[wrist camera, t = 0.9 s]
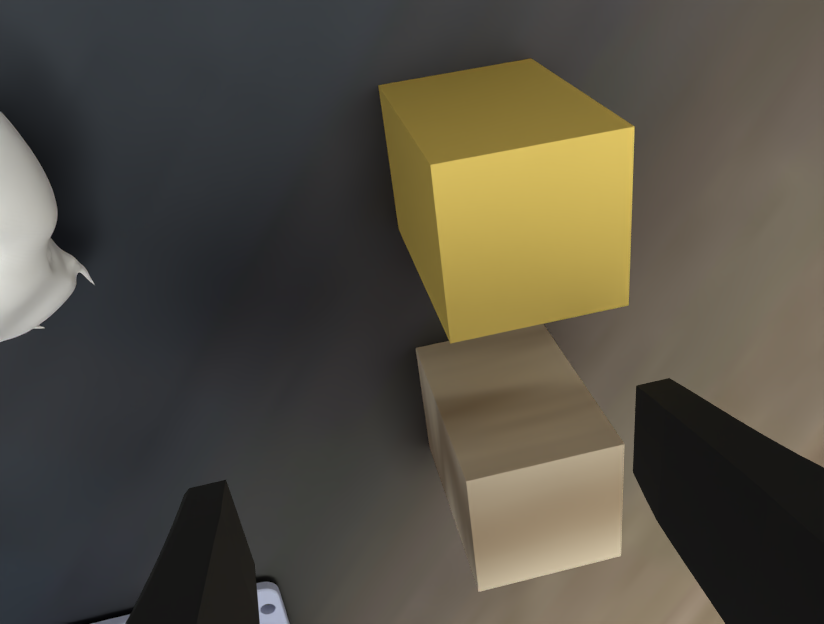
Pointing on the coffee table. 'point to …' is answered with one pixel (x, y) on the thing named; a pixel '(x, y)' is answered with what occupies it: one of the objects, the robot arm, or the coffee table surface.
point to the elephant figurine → (29, 241)
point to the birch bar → (521, 455)
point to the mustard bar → (510, 196)
